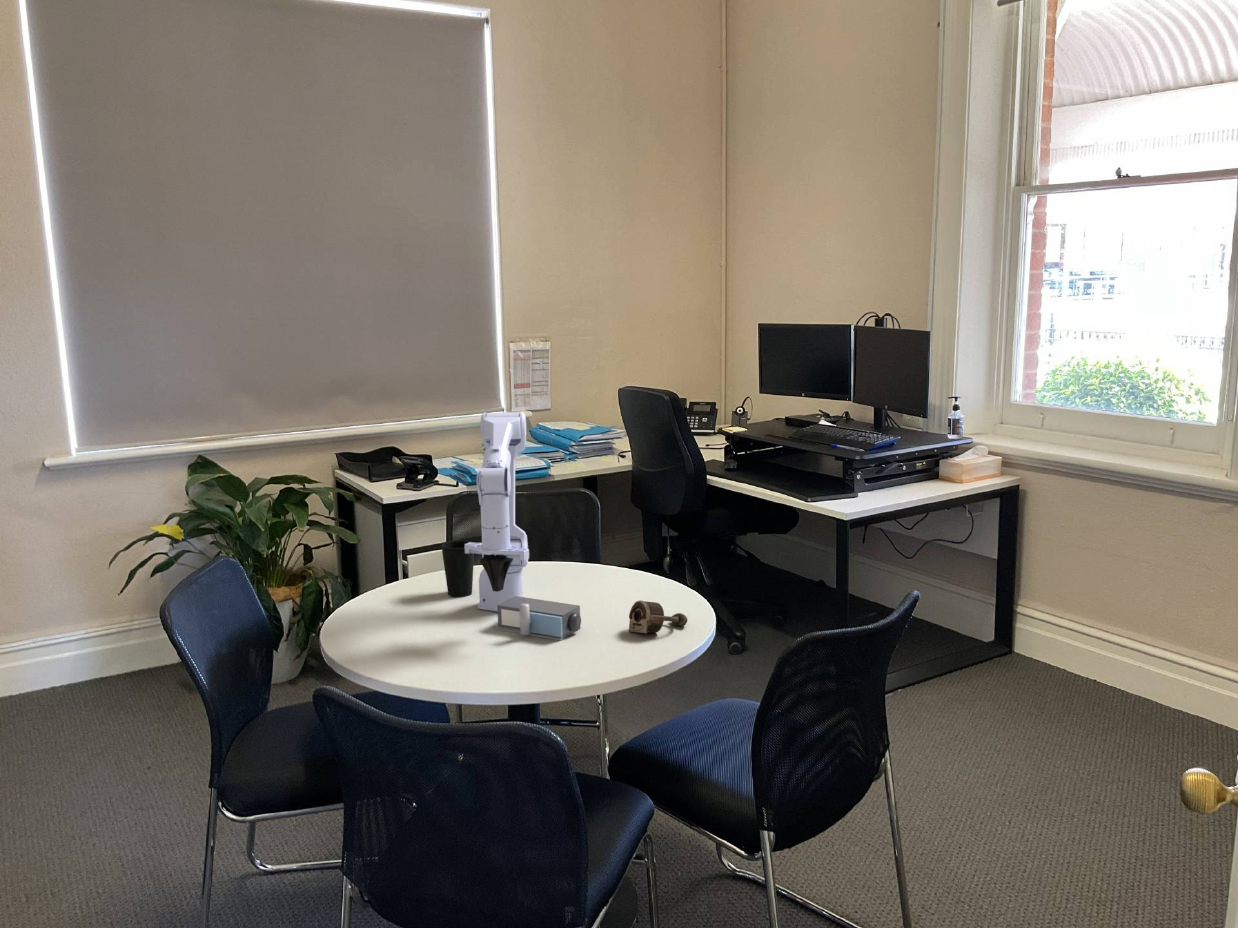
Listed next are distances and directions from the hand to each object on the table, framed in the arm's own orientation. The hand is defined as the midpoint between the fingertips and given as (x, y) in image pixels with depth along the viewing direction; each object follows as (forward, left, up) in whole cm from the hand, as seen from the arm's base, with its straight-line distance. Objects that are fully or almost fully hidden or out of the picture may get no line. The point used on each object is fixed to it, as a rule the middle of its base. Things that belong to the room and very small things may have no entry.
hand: (497, 590), depth 204 cm
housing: (+6, +6, -9) cm, 13 cm away
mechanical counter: (+29, +16, -10) cm, 35 cm away
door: (+10, +1, -9) cm, 13 cm away
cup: (-24, +19, -10) cm, 33 cm away
